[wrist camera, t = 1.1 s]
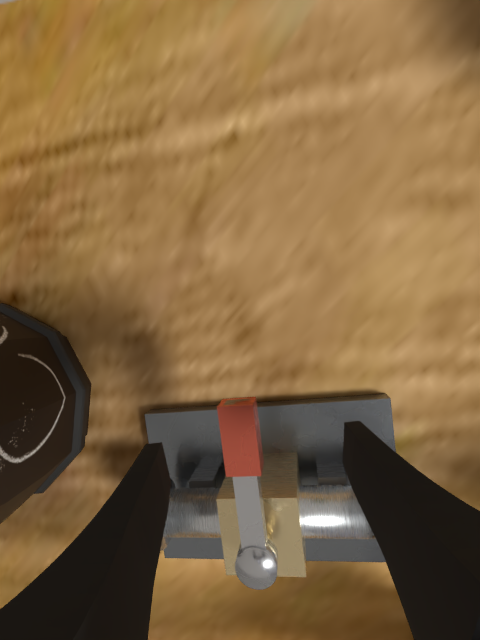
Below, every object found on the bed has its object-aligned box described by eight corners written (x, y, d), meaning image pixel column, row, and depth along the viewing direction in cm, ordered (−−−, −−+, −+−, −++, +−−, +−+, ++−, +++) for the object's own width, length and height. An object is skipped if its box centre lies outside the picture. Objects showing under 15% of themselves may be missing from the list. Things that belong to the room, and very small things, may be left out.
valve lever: (280, 571, 20) (279, 591, 18) (241, 570, 20) (237, 590, 19) (259, 396, 19) (256, 404, 18) (219, 399, 20) (213, 407, 18)
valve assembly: (386, 393, 26) (427, 439, 18) (401, 550, 27) (448, 665, 18) (150, 409, 30) (93, 454, 21) (170, 547, 30) (122, 642, 22)
